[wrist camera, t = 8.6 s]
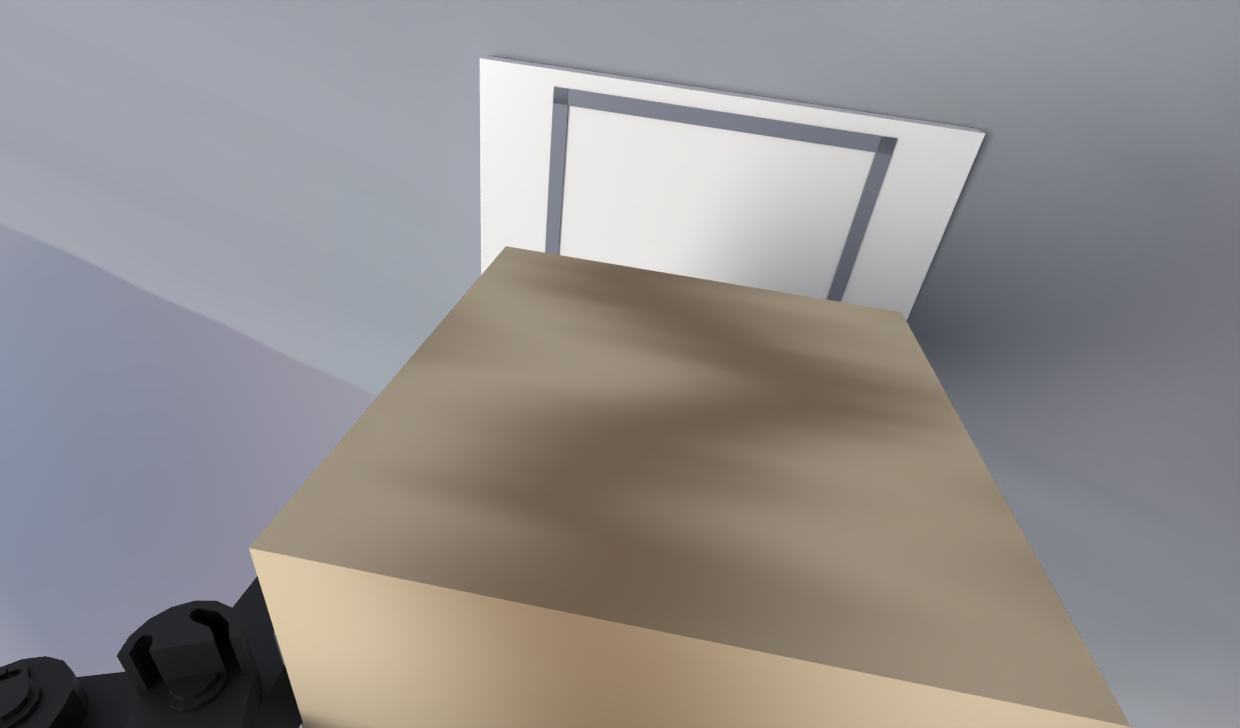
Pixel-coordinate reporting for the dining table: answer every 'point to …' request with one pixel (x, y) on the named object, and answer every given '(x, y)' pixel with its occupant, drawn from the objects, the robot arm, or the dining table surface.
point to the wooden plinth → (665, 527)
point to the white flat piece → (715, 183)
